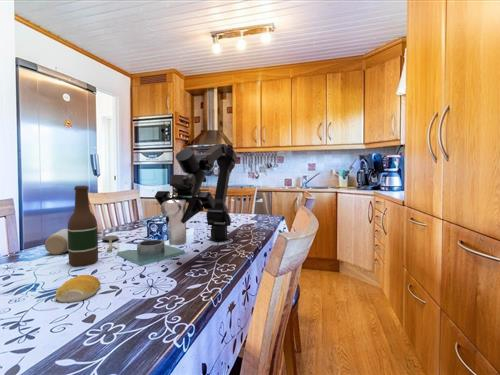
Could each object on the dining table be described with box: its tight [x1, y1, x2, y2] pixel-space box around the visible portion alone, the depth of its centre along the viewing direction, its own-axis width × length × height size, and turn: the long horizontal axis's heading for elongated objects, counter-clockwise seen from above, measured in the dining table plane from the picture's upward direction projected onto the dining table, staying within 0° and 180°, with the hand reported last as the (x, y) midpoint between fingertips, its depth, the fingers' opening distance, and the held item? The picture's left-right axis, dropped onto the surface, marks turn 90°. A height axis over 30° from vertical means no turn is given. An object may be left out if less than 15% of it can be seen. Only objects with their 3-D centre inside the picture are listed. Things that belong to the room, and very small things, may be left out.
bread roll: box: [54, 274, 102, 303], centre depth 61 cm, size 8×9×4 cm
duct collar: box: [116, 239, 186, 266], centre depth 91 cm, size 16×16×4 cm
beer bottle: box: [67, 185, 99, 268], centre depth 82 cm, size 8×8×24 cm
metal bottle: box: [160, 199, 187, 246], centre depth 78 cm, size 8×5×13 cm, turn 164°
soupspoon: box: [101, 235, 120, 253], centre depth 103 cm, size 22×3×7 cm
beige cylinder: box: [44, 228, 68, 256], centre depth 94 cm, size 11×8×8 cm
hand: (174, 222), depth 78 cm, fingers closed on metal bottle, 5 cm apart
